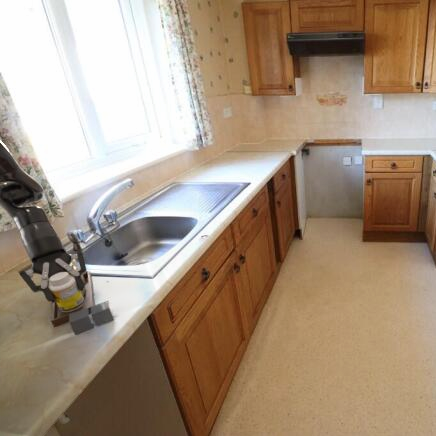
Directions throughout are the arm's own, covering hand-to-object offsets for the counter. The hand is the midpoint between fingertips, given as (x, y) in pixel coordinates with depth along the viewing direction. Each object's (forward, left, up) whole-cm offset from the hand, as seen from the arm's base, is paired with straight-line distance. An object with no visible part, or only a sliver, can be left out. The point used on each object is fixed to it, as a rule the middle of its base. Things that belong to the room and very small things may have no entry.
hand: (68, 295), depth 86 cm
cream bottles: (0, +14, -6) cm, 15 cm away
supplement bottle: (0, +2, -5) cm, 5 cm away
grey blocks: (+4, -7, -7) cm, 10 cm away
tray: (0, +9, -7) cm, 11 cm away
